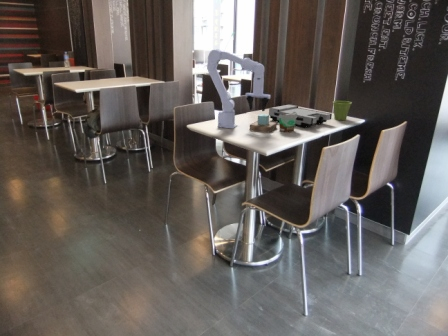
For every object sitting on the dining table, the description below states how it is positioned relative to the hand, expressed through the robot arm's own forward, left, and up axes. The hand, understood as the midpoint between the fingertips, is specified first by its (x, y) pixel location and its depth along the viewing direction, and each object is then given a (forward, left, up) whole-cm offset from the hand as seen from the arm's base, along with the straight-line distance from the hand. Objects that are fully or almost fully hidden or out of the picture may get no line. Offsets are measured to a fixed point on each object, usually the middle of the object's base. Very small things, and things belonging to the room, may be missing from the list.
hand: (257, 110), depth 197 cm
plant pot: (+40, +47, -11) cm, 63 cm away
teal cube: (+4, -1, -7) cm, 9 cm away
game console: (+18, +25, -11) cm, 33 cm away
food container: (+20, +1, -11) cm, 22 cm away
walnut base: (+5, -1, -10) cm, 11 cm away
